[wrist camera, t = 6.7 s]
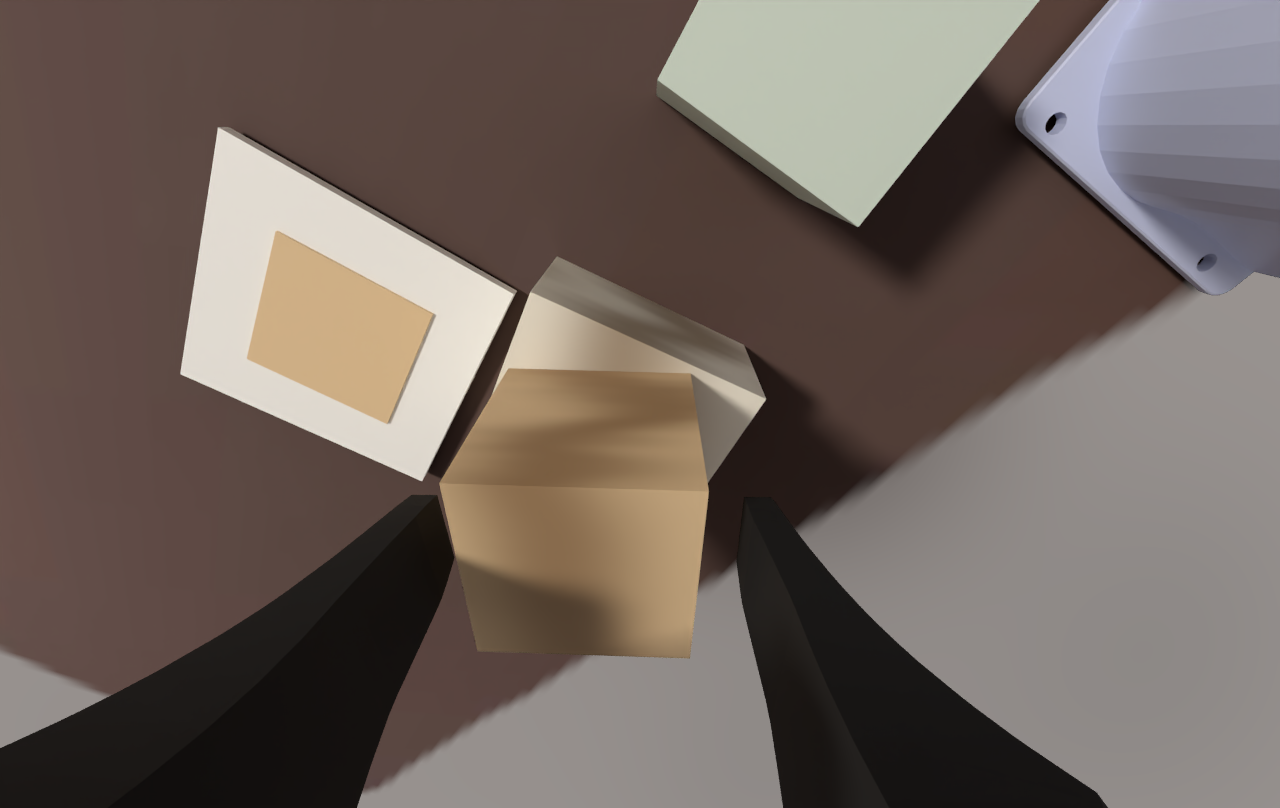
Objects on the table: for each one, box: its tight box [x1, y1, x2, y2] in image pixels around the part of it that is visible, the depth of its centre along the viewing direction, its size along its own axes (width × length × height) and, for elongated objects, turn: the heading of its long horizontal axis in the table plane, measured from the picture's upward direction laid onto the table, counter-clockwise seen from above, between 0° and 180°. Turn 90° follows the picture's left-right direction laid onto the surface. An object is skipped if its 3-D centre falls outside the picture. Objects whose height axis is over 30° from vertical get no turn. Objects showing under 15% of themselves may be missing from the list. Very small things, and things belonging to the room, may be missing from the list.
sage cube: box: [656, 0, 1039, 227], centre depth 11 cm, size 5×5×5 cm
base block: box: [492, 257, 766, 482], centre depth 16 cm, size 7×7×4 cm
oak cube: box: [439, 368, 709, 658], centre depth 12 cm, size 5×5×5 cm
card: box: [181, 127, 517, 481], centre depth 17 cm, size 9×9×1 cm
